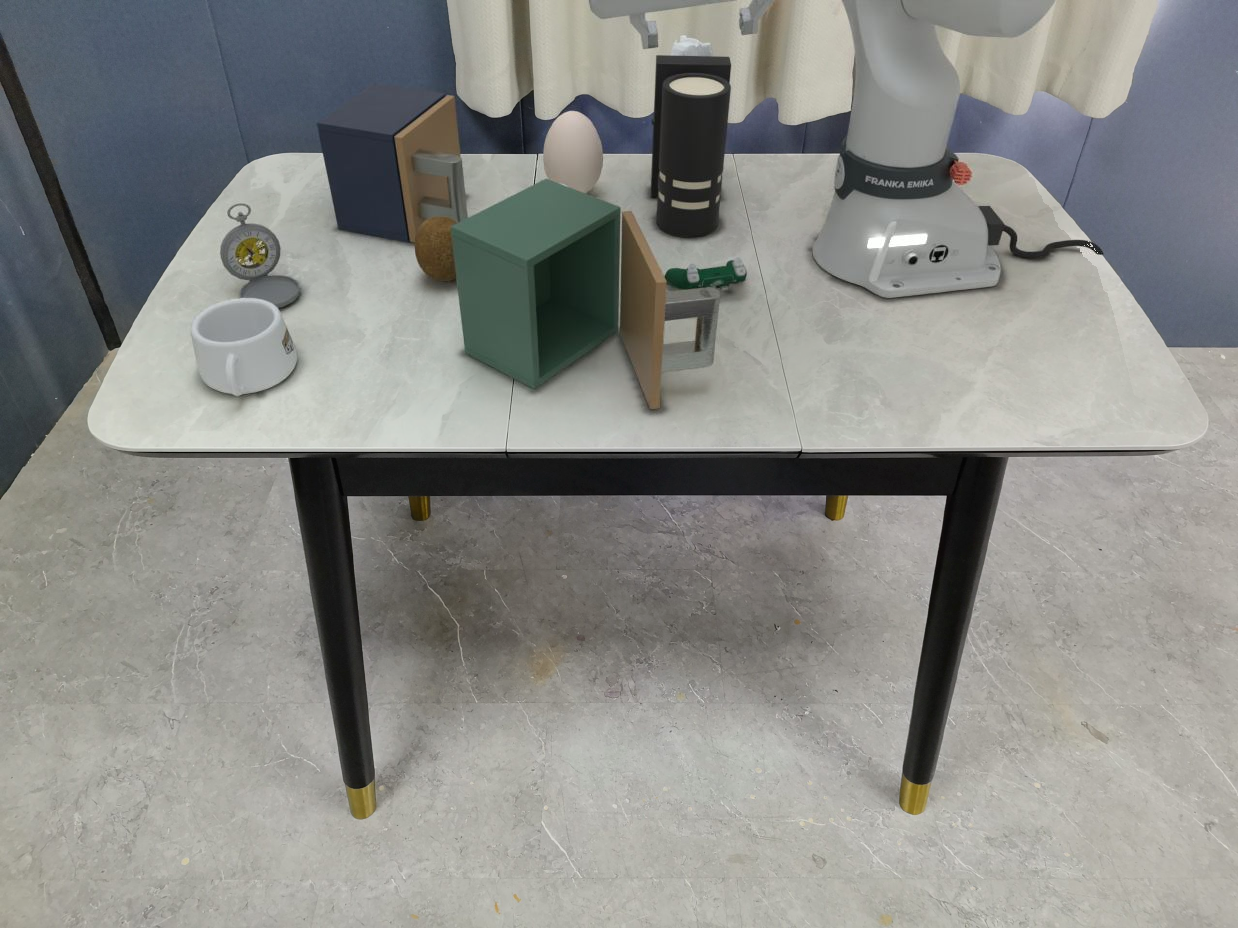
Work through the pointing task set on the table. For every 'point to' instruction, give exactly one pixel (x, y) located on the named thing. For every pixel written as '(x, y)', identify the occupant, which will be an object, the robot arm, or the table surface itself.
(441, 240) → the fruit
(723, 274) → the gaming controller
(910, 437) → the table surface
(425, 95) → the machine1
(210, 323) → the mug
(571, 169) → the egg
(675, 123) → the light fixture
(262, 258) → the pocket watch
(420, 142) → the machine door
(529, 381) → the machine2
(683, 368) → the machine door
